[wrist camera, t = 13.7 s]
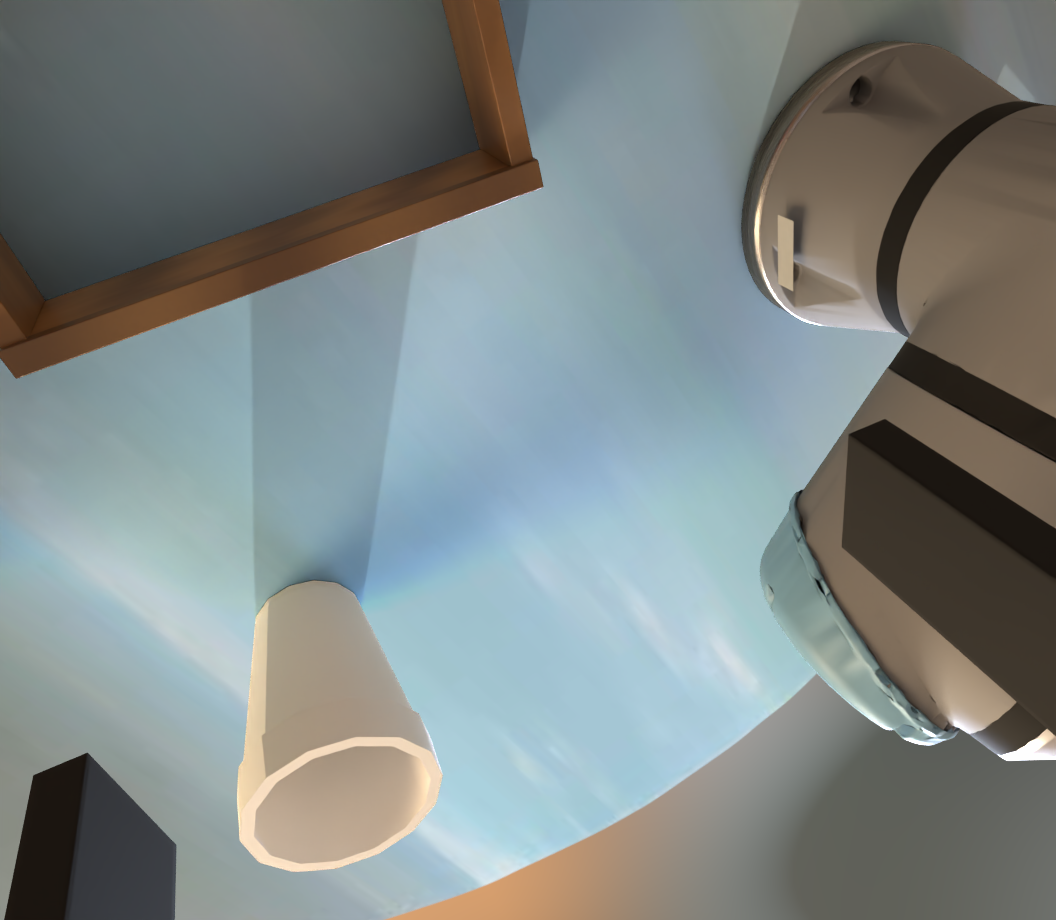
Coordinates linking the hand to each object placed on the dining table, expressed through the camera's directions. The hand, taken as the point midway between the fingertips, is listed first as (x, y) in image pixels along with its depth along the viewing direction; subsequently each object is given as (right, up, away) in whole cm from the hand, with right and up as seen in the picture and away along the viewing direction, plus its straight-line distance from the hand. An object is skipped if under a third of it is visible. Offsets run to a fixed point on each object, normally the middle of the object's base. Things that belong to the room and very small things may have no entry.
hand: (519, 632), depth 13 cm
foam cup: (-13, -7, +33) cm, 37 cm away
